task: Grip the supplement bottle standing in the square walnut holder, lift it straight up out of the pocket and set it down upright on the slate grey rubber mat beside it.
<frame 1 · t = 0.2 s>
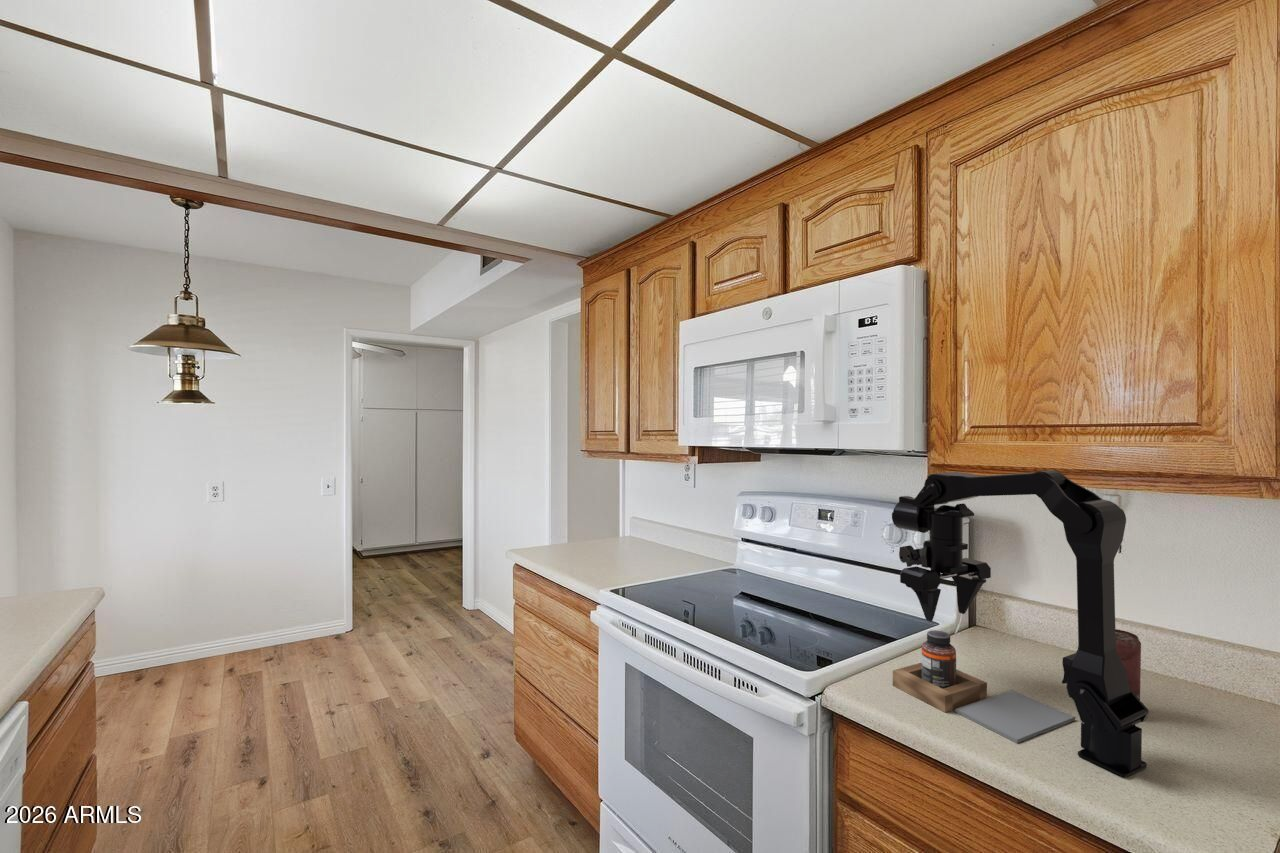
hand: (945, 617, 116), 14 cm above the worktop, tool pointing down, fingers open, 9 cm apart
grey rubber mat: (1014, 716, 105), on the worktop
supplement bottle: (938, 693, 114), resting in walnut holder
walnut holder: (938, 691, 114), on the worktop
can: (1117, 712, 106), on the worktop
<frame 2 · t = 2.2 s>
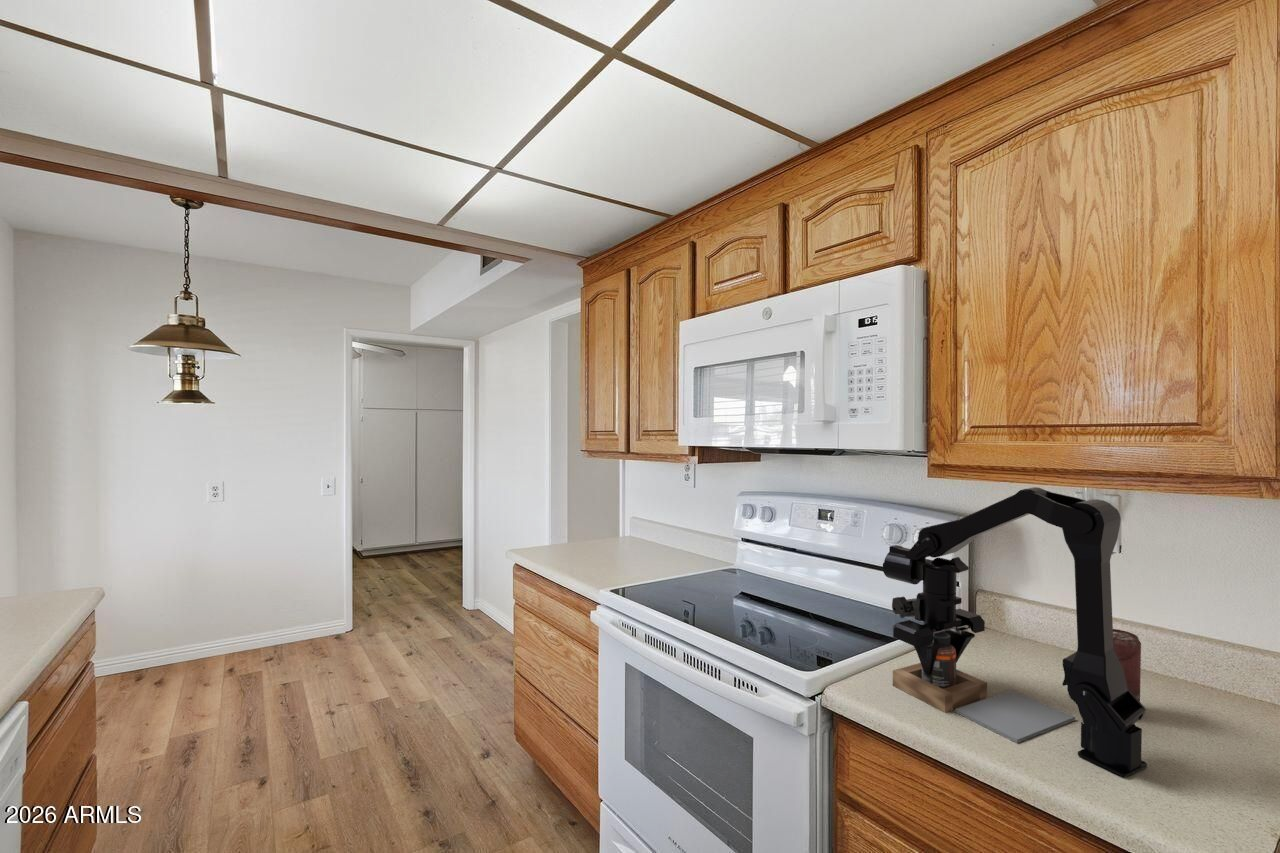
hand: (938, 671, 114), 4 cm above the worktop, tool pointing down, fingers closed on supplement bottle, 6 cm apart
supplement bottle: (938, 692, 114), resting in walnut holder, touching gripper
everything else where it was.
when the fingers open (6 cm above the worktop, at t = 6.4 s): supplement bottle drops 1 cm, resting on grey rubber mat.
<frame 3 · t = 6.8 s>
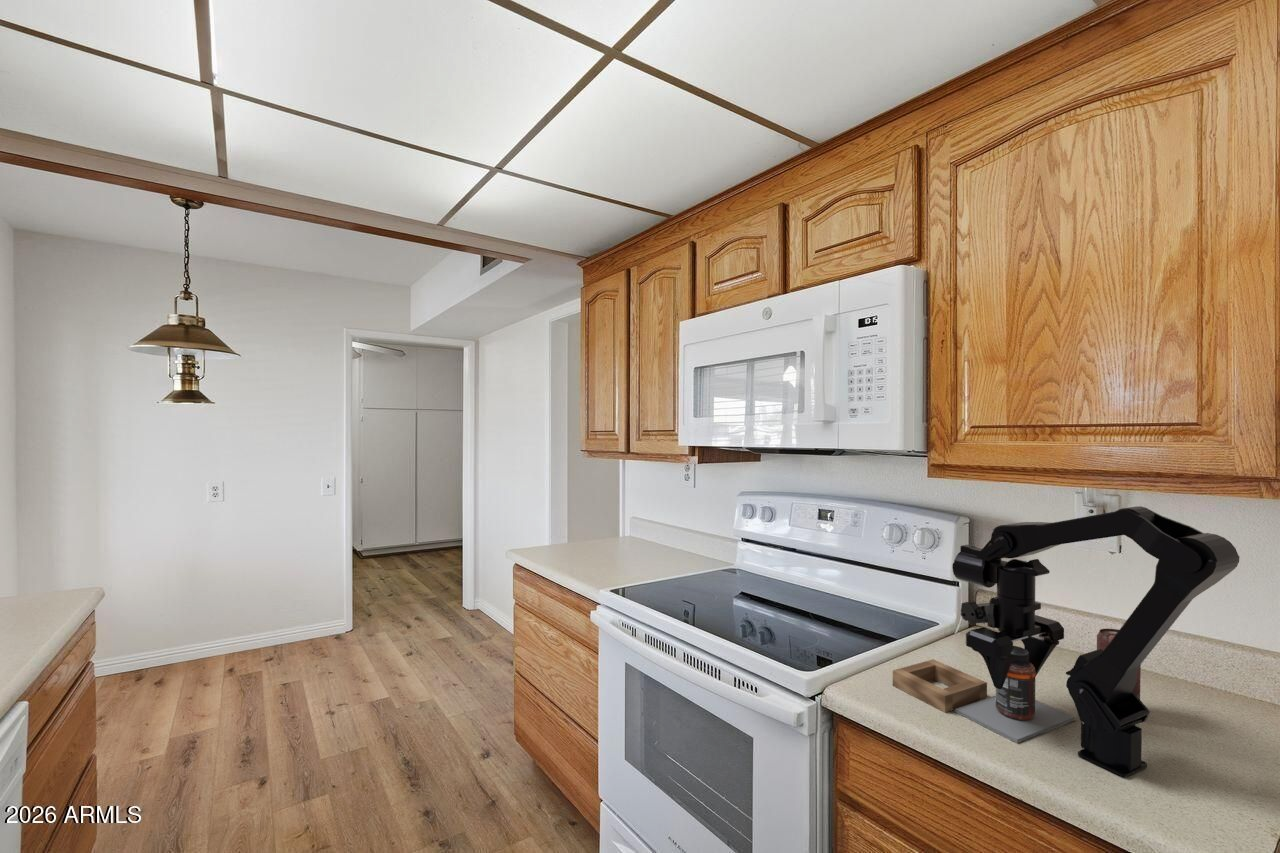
hand: (1014, 682, 105), 6 cm above the worktop, tool pointing down, fingers open, 9 cm apart
supplement bottle: (1014, 713, 105), resting on grey rubber mat
everything else where it was.
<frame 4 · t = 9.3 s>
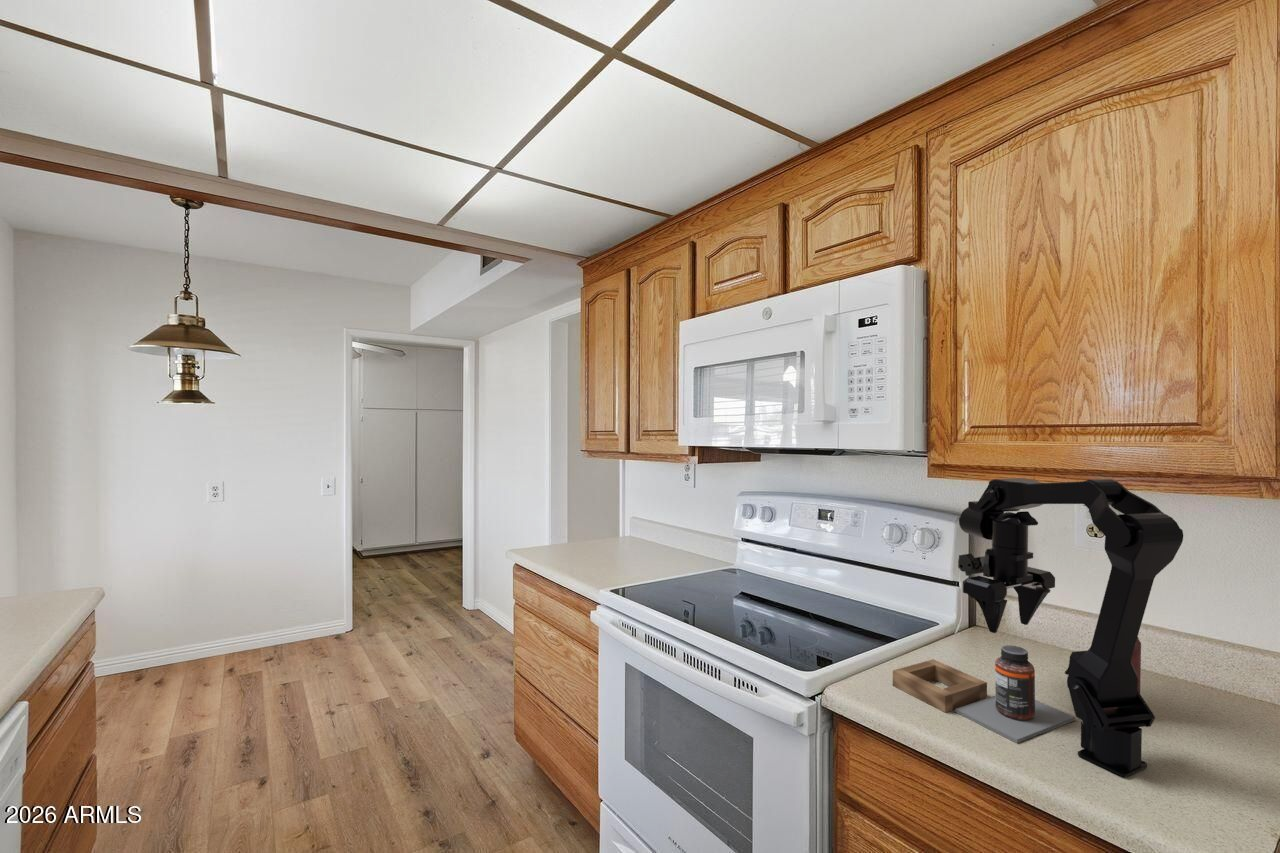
hand: (1008, 628, 111), 13 cm above the worktop, tool pointing down, fingers open, 9 cm apart
nothing on the worktop moved.
at the end: supplement bottle inside the target area on the grey rubber mat (0.0 cm from its centre), point 0.4 cm above the grey rubber mat's base; supplement bottle tilted 0°; the gripper is holding nothing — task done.
